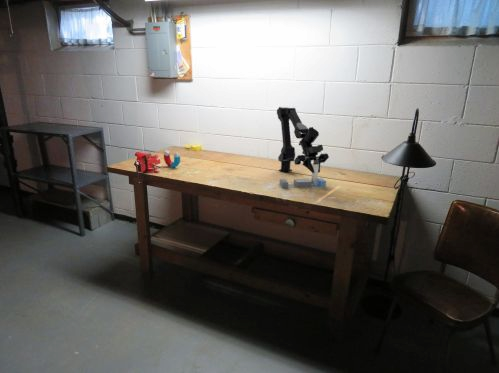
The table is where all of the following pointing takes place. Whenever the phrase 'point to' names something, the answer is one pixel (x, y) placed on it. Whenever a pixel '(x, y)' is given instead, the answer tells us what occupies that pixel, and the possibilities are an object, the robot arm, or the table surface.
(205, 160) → the table surface
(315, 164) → the dark-capped white cylinder
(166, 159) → the magnet
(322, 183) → the gray notched block
